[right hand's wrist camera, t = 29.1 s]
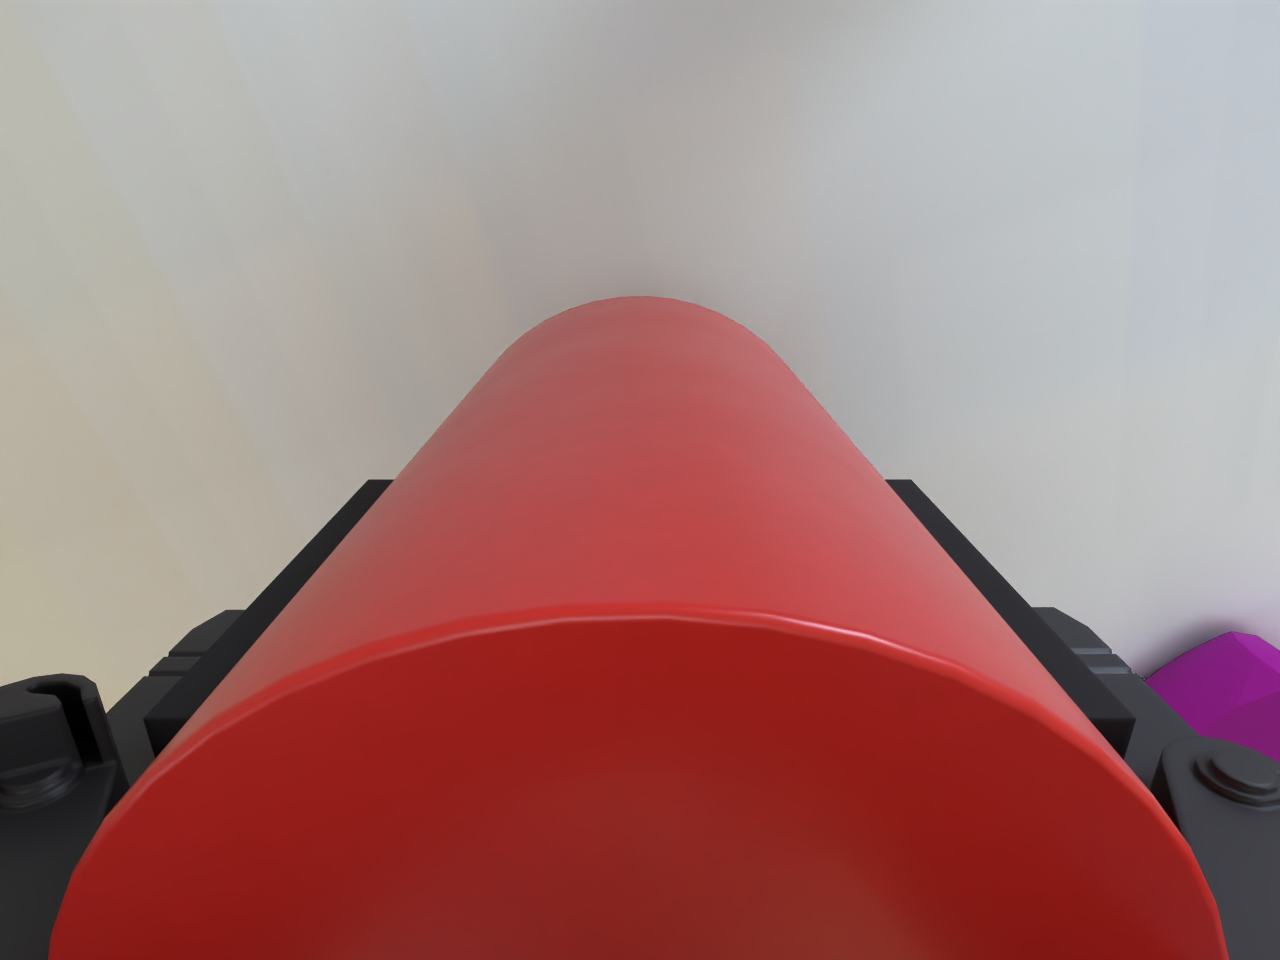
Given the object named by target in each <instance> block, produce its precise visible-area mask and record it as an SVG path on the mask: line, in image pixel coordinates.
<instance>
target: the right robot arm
mask: <svg viewBox="0 0 1280 960" xmlns="http://www.w3.org/2000/svg"><path fill="white" fill-rule="evenodd" d="M393 481H394V480H368V481H367V482H366V483H365V484H364V485H363V486H362V487H361V488H360V489H359V490H358V491H357V492H356V493H355V494H354V496H353V497H352V498H351V499H350V500H349V501H348V502H347V503H346V504H345V505H344V506H343V507H342V508H341V509H340V510H339V511H338V513H337V514H336V515H335V516H334V517H333V518H332V519H331V520H330V521H329V522H328V523H327V524H326V525H325V526H324V527H323V528H322V529H321V531H320V532H319V533H318V534H317V535H316V536H315V537H314V538H313V539H312V540H311V541H310V542H309V543H308V544H307V545H306V546H305V547H304V549H303V550H302V551H301V552H300V553H299V554H298V555H297V556H296V557H295V558H294V559H293V560H292V561H291V562H290V563H289V564H288V565H287V567H286V568H285V569H284V570H283V571H282V572H281V573H280V574H279V575H278V576H277V577H276V578H275V579H274V580H273V581H272V582H271V584H270V585H269V586H268V587H267V588H266V589H265V590H264V591H263V592H262V593H261V594H260V595H259V596H258V597H257V598H256V599H255V600H254V602H253V603H252V604H251V605H250V606H249V607H248V608H247V609H246V610H225V611H223V612H222V613H220V614H218V615H216V616H215V617H213V618H211V619H209V620H208V621H206V622H204V623H202V624H201V625H199V626H197V627H195V628H194V629H192V630H191V631H190V632H189V633H188V634H187V635H186V636H185V637H184V638H183V639H182V640H181V641H180V642H179V643H178V644H177V645H176V646H175V647H174V648H173V649H172V650H171V651H170V652H169V656H168V657H163V658H162V659H161V660H160V661H159V662H158V663H157V664H156V665H155V666H154V667H153V668H152V669H151V670H150V671H149V676H144V677H143V678H142V679H141V680H140V681H139V682H138V683H137V684H136V685H135V686H134V687H133V688H132V689H131V690H130V691H129V692H128V693H127V694H126V695H125V696H123V697H122V698H121V699H120V700H119V701H118V702H117V703H116V704H115V705H114V706H113V707H112V708H111V709H110V710H109V711H108V712H107V713H105V710H104V707H103V704H102V701H101V698H100V695H99V692H98V689H97V686H96V684H95V683H94V682H92V681H91V680H89V679H88V678H86V677H85V676H82V675H72V674H63V673H61V674H54V675H46V676H38V677H32V678H29V679H25V680H22V681H18V682H15V683H11V684H8V685H4V686H1V687H0V960H48V955H49V946H50V938H51V934H52V930H53V927H54V924H55V921H56V918H57V915H58V912H59V910H60V907H61V904H62V901H63V898H64V895H65V892H66V889H67V887H68V884H69V881H70V878H71V875H72V872H73V870H74V869H75V867H76V865H77V864H78V862H79V860H80V859H81V857H82V855H83V853H84V852H85V850H86V848H87V847H88V845H89V843H90V842H91V840H92V838H93V837H94V835H95V833H96V832H97V830H98V828H99V827H100V825H101V823H102V822H103V820H104V818H105V817H106V816H107V815H108V813H109V812H110V811H111V810H112V809H113V808H114V806H115V805H116V804H117V803H118V802H119V801H120V799H121V798H122V797H123V796H124V795H125V794H126V792H127V791H128V790H129V789H130V788H131V787H132V785H133V784H134V783H135V782H136V781H137V780H138V778H139V777H140V776H141V775H142V774H143V773H144V771H145V770H146V769H147V768H148V767H149V766H150V764H151V763H152V762H153V761H154V760H155V759H156V757H157V756H158V755H159V754H160V753H161V752H162V750H163V749H164V748H165V747H166V746H167V745H168V743H169V742H170V741H171V740H172V739H173V738H174V736H175V735H176V734H177V733H178V732H179V731H180V729H181V728H182V727H183V726H184V725H185V724H186V722H187V721H188V720H189V719H190V718H191V717H192V715H193V714H194V713H195V712H196V711H197V710H198V708H199V707H200V706H201V705H202V704H203V703H204V701H205V700H206V699H207V698H208V697H209V696H210V694H211V693H212V692H213V691H214V690H215V689H216V687H217V686H218V685H219V684H220V683H221V682H222V680H223V679H224V678H225V677H226V676H227V675H228V673H229V672H230V671H231V670H232V669H233V668H234V666H235V665H236V664H237V663H238V662H239V661H240V659H241V658H242V657H243V656H244V655H245V654H246V652H247V651H248V650H249V649H250V648H251V647H252V645H253V644H254V643H255V642H256V641H257V640H258V638H259V637H260V636H261V635H262V634H263V633H264V631H265V630H266V629H267V628H268V627H269V626H270V624H271V623H272V622H273V621H274V620H275V619H276V617H277V616H278V615H279V614H280V613H281V612H282V610H283V609H284V608H285V607H286V606H287V605H288V603H289V602H290V601H291V600H292V599H293V598H294V596H295V595H296V594H297V593H298V592H299V591H300V589H301V588H302V587H303V586H304V585H305V583H306V582H307V581H308V580H309V579H310V578H311V576H312V575H313V574H314V573H315V572H316V571H317V569H318V568H319V567H320V566H321V565H322V564H323V562H324V561H325V560H326V559H327V558H328V557H329V555H330V554H331V553H332V552H333V551H334V550H335V548H336V547H337V546H338V545H339V544H340V543H341V541H342V540H343V539H344V538H345V537H346V536H347V534H348V533H349V532H350V531H351V530H352V529H353V527H354V526H355V525H356V524H357V523H358V522H359V520H360V519H361V518H362V517H363V516H364V515H365V513H366V512H367V511H368V510H369V509H370V508H371V506H372V505H373V504H374V503H375V502H376V501H377V499H378V498H379V497H380V496H381V495H382V494H383V492H384V491H385V490H386V489H387V488H388V487H389V485H390V484H391V483H392V482H393ZM885 481H886V482H887V483H888V485H889V486H890V487H891V488H892V489H893V490H894V492H895V493H896V494H897V495H898V496H899V497H900V499H901V500H902V501H903V502H904V503H905V504H906V506H907V507H908V508H909V509H910V510H911V512H912V513H913V514H914V515H915V516H916V517H917V519H918V520H919V521H920V522H921V523H922V524H923V526H924V527H925V528H926V529H927V530H928V531H929V533H930V534H931V535H932V536H933V537H934V539H935V540H936V541H937V542H938V543H939V544H940V546H941V547H942V548H943V549H944V550H945V551H946V553H947V554H948V555H949V556H950V557H951V558H952V560H953V561H954V562H955V563H956V564H957V565H958V567H959V568H960V569H961V570H962V571H963V573H964V574H965V575H966V576H967V577H968V578H969V580H970V581H971V582H972V583H973V584H974V585H975V587H976V588H977V589H978V590H979V591H980V592H981V594H982V595H983V596H984V597H985V598H986V600H987V601H988V602H989V603H990V604H991V605H992V607H993V608H994V609H995V610H996V611H997V612H998V614H999V615H1000V616H1001V617H1002V618H1003V619H1004V621H1005V622H1006V623H1007V624H1008V625H1009V626H1010V628H1011V629H1012V630H1013V631H1014V632H1015V634H1016V635H1017V636H1018V637H1019V638H1020V639H1021V641H1022V642H1023V643H1024V644H1025V645H1026V646H1027V648H1028V649H1029V650H1030V651H1031V652H1032V653H1033V655H1034V656H1035V657H1036V658H1037V659H1038V661H1039V662H1040V663H1041V664H1042V665H1043V666H1044V668H1045V669H1046V670H1047V671H1048V672H1049V673H1050V675H1051V676H1052V677H1053V678H1054V679H1055V680H1056V682H1057V683H1058V684H1059V685H1060V686H1061V687H1062V689H1063V690H1064V691H1065V692H1066V693H1067V695H1068V696H1069V697H1070V698H1071V699H1072V700H1073V702H1074V703H1075V704H1076V705H1077V706H1078V707H1079V709H1080V710H1081V711H1082V712H1083V713H1084V714H1085V716H1086V717H1087V718H1088V719H1089V720H1090V722H1091V723H1092V724H1093V725H1094V726H1095V727H1096V729H1097V730H1098V731H1099V732H1100V733H1101V734H1102V736H1103V737H1104V738H1105V739H1106V740H1107V741H1108V743H1109V744H1110V745H1111V746H1112V747H1113V748H1114V750H1115V751H1116V752H1117V753H1118V754H1119V756H1120V757H1121V758H1122V759H1123V760H1124V761H1125V763H1126V764H1127V765H1128V766H1129V767H1130V768H1131V770H1132V771H1133V772H1134V773H1135V774H1136V775H1137V777H1138V778H1139V779H1140V780H1141V781H1142V783H1143V784H1144V785H1145V786H1146V787H1147V788H1148V790H1149V791H1150V792H1151V793H1152V794H1153V796H1154V797H1155V798H1156V800H1157V801H1158V803H1159V804H1160V805H1161V807H1162V808H1163V809H1164V811H1165V812H1166V814H1167V815H1168V816H1169V818H1170V819H1171V821H1172V822H1173V823H1174V825H1175V826H1176V827H1177V829H1178V830H1179V832H1180V833H1181V834H1182V836H1183V837H1184V839H1185V840H1186V841H1187V843H1188V844H1189V845H1190V847H1191V849H1192V851H1193V853H1194V855H1195V858H1196V860H1197V862H1198V864H1199V866H1200V868H1201V871H1202V873H1203V875H1204V877H1205V879H1206V882H1207V884H1208V886H1209V888H1210V890H1211V892H1212V895H1213V897H1214V899H1215V901H1216V904H1217V908H1218V911H1219V915H1220V920H1221V924H1222V929H1223V933H1224V938H1225V942H1226V947H1227V951H1228V956H1229V960H1280V763H1279V762H1277V761H1275V760H1273V759H1271V758H1269V757H1267V756H1265V755H1263V754H1261V753H1260V752H1258V751H1256V750H1254V749H1251V748H1248V747H1245V746H1242V745H1239V744H1236V743H1233V742H1230V741H1227V740H1223V739H1217V738H1210V737H1203V736H1200V735H1199V734H1198V733H1197V732H1196V731H1195V730H1194V729H1193V728H1192V727H1191V726H1190V725H1189V724H1188V723H1187V722H1186V721H1184V720H1183V719H1182V718H1181V717H1180V716H1179V715H1178V714H1177V713H1176V712H1175V711H1174V710H1173V709H1172V708H1171V707H1170V706H1169V705H1168V704H1167V703H1166V702H1165V701H1164V700H1163V699H1162V698H1161V697H1160V696H1159V695H1158V694H1157V693H1156V692H1155V691H1154V690H1153V689H1152V688H1150V687H1149V686H1148V685H1147V684H1146V683H1145V682H1144V681H1143V680H1142V679H1141V678H1140V677H1139V676H1138V675H1137V674H1132V673H1131V668H1130V667H1129V666H1128V665H1127V664H1126V663H1125V662H1124V661H1123V660H1122V659H1121V658H1120V657H1119V656H1117V655H1116V654H1112V652H1111V649H1110V648H1109V647H1108V646H1107V645H1106V644H1105V643H1104V642H1103V641H1102V640H1101V639H1100V638H1099V637H1098V636H1097V635H1096V634H1095V633H1094V632H1093V631H1092V630H1091V629H1090V628H1089V627H1087V626H1086V625H1084V624H1082V623H1080V622H1079V621H1077V620H1075V619H1073V618H1072V617H1070V616H1068V615H1066V614H1065V613H1063V612H1061V611H1059V610H1058V609H1056V608H1054V607H1031V606H1030V605H1029V604H1028V603H1027V602H1026V601H1025V600H1024V599H1023V598H1022V597H1021V596H1020V595H1019V594H1018V593H1017V591H1016V590H1015V589H1014V588H1013V587H1012V586H1011V585H1010V584H1009V583H1008V582H1007V581H1006V580H1005V579H1004V578H1003V577H1002V576H1001V575H1000V573H999V572H998V571H997V570H996V569H995V568H994V567H993V566H992V565H991V564H990V563H989V562H988V561H987V560H986V559H985V558H984V556H983V555H982V554H981V553H980V552H979V551H978V550H977V549H976V548H975V547H974V546H973V545H972V544H971V543H970V542H969V541H968V540H967V538H966V537H965V536H964V535H963V534H962V533H961V532H960V531H959V530H958V529H957V528H956V527H955V526H954V525H953V524H952V523H951V522H950V520H949V519H948V518H947V517H946V516H945V515H944V514H943V513H942V512H941V511H940V510H939V509H938V508H937V507H936V506H935V505H934V503H933V502H932V501H931V500H930V499H929V498H928V497H927V496H926V495H925V494H924V493H923V492H922V491H921V490H920V489H919V488H918V487H917V485H916V484H915V483H914V482H913V481H912V480H885Z"/></svg>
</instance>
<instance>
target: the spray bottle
mask: <svg viewBox="0 0 1280 960" xmlns="http://www.w3.org/2000/svg"><path fill="white" fill-rule="evenodd" d="M1144 682H1145V683H1146V684H1147V685H1148V686H1149V687H1150V688H1152V689H1153V690H1154V691H1155V692H1156V693H1157V694H1158V695H1159V696H1160V697H1161V698H1162V699H1163V700H1164V701H1165V702H1166V703H1167V704H1168V705H1169V706H1170V707H1171V708H1172V709H1173V710H1174V711H1175V712H1176V713H1177V714H1178V715H1179V716H1180V717H1181V718H1182V719H1183V720H1184V721H1186V722H1187V723H1188V724H1189V725H1190V726H1191V727H1192V728H1193V729H1194V730H1195V731H1196V732H1197V733H1198V734H1199V735H1200V736H1203V737H1210V738H1217V739H1223V740H1227V741H1230V742H1233V743H1236V744H1239V745H1242V746H1245V747H1248V748H1251V749H1254V750H1256V751H1258V752H1260V753H1261V754H1263V755H1265V756H1267V757H1269V758H1271V759H1273V760H1275V761H1277V762H1279V763H1280V651H1279V650H1278V649H1276V648H1275V647H1273V646H1272V645H1270V644H1269V643H1267V642H1265V641H1264V640H1262V639H1261V638H1259V637H1258V636H1256V635H1250V634H1244V633H1238V632H1228V633H1225V634H1222V635H1220V636H1218V637H1216V638H1214V639H1212V640H1210V641H1208V642H1206V643H1204V644H1202V645H1200V646H1198V647H1196V648H1194V649H1192V650H1189V651H1187V652H1186V653H1184V654H1183V655H1181V656H1179V657H1178V658H1176V659H1174V660H1173V661H1171V662H1169V663H1168V664H1166V665H1165V666H1163V667H1162V668H1161V669H1159V670H1158V671H1157V672H1156V673H1154V674H1153V675H1152V676H1150V677H1149V678H1148V679H1146V680H1145V681H1144Z"/></svg>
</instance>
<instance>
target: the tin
mask: <svg viewBox="0 0 1280 960" xmlns="http://www.w3.org/2000/svg"><path fill="white" fill-rule="evenodd" d="M48 960H1229V956H1228V951H1227V947H1226V942H1225V938H1224V933H1223V929H1222V924H1221V920H1220V915H1219V911H1218V908H1217V904H1216V901H1215V899H1214V897H1213V895H1212V892H1211V890H1210V888H1209V886H1208V884H1207V882H1206V879H1205V877H1204V875H1203V873H1202V871H1201V868H1200V866H1199V864H1198V862H1197V860H1196V858H1195V855H1194V853H1193V851H1192V849H1191V847H1190V845H1189V844H1188V843H1187V841H1186V840H1185V839H1184V837H1183V836H1182V834H1181V833H1180V832H1179V830H1178V829H1177V827H1176V826H1175V825H1174V823H1173V822H1172V821H1171V819H1170V818H1169V816H1168V815H1167V814H1166V812H1165V811H1164V809H1163V808H1162V807H1161V805H1160V804H1159V803H1158V801H1157V800H1156V798H1155V797H1154V796H1153V794H1152V793H1151V792H1150V791H1149V790H1148V788H1147V787H1146V786H1145V785H1144V784H1143V783H1142V781H1141V780H1140V779H1139V778H1138V777H1137V775H1136V774H1135V773H1134V772H1133V771H1132V770H1131V768H1130V767H1129V766H1128V765H1127V764H1126V763H1125V761H1124V760H1123V759H1122V758H1121V757H1120V756H1119V754H1118V753H1117V752H1116V751H1115V750H1114V748H1113V747H1112V746H1111V745H1110V744H1109V743H1108V741H1107V740H1106V739H1105V738H1104V737H1103V736H1102V734H1101V733H1100V732H1099V731H1098V730H1097V729H1096V727H1095V726H1094V725H1093V724H1092V723H1091V722H1090V720H1089V719H1088V718H1087V717H1086V716H1085V714H1084V713H1083V712H1082V711H1081V710H1080V709H1079V707H1078V706H1077V705H1076V704H1075V703H1074V702H1073V700H1072V699H1071V698H1070V697H1069V696H1068V695H1067V693H1066V692H1065V691H1064V690H1063V689H1062V687H1061V686H1060V685H1059V684H1058V683H1057V682H1056V680H1055V679H1054V678H1053V677H1052V676H1051V675H1050V673H1049V672H1048V671H1047V670H1046V669H1045V668H1044V666H1043V665H1042V664H1041V663H1040V662H1039V661H1038V659H1037V658H1036V657H1035V656H1034V655H1033V653H1032V652H1031V651H1030V650H1029V649H1028V648H1027V646H1026V645H1025V644H1024V643H1023V642H1022V641H1021V639H1020V638H1019V637H1018V636H1017V635H1016V634H1015V632H1014V631H1013V630H1012V629H1011V628H1010V626H1009V625H1008V624H1007V623H1006V622H1005V621H1004V619H1003V618H1002V617H1001V616H1000V615H999V614H998V612H997V611H996V610H995V609H994V608H993V607H992V605H991V604H990V603H989V602H988V601H987V600H986V598H985V597H984V596H983V595H982V594H981V592H980V591H979V590H978V589H977V588H976V587H975V585H974V584H973V583H972V582H971V581H970V580H969V578H968V577H967V576H966V575H965V574H964V573H963V571H962V570H961V569H960V568H959V567H958V565H957V564H956V563H955V562H954V561H953V560H952V558H951V557H950V556H949V555H948V554H947V553H946V551H945V550H944V549H943V548H942V547H941V546H940V544H939V543H938V542H937V541H936V540H935V539H934V537H933V536H932V535H931V534H930V533H929V531H928V530H927V529H926V528H925V527H924V526H923V524H922V523H921V522H920V521H919V520H918V519H917V517H916V516H915V515H914V514H913V513H912V512H911V510H910V509H909V508H908V507H907V506H906V504H905V503H904V502H903V501H902V500H901V499H900V497H899V496H898V495H897V494H896V493H895V492H894V490H893V489H892V488H891V487H890V486H889V485H888V483H887V482H886V481H885V480H884V479H883V478H882V476H881V475H880V474H879V473H878V472H877V470H876V469H875V468H874V467H873V466H872V465H871V463H870V462H869V461H868V460H867V459H866V458H865V456H864V455H863V454H862V453H861V452H860V451H859V449H858V448H857V447H856V446H855V445H854V444H853V442H852V441H851V440H850V439H849V438H848V436H847V435H846V434H845V433H844V432H843V431H842V429H841V428H840V427H839V426H838V425H837V424H836V422H835V421H834V420H833V419H832V418H831V417H830V415H829V414H828V413H827V412H826V411H825V409H824V408H823V407H822V406H821V405H820V404H819V402H818V401H817V400H816V399H815V398H814V397H813V395H812V394H811V393H810V392H809V391H808V390H807V388H806V387H805V386H804V385H803V384H802V383H801V381H800V380H799V379H798V378H797V377H796V375H795V374H794V373H793V372H792V371H791V370H790V368H789V367H788V366H787V365H786V364H785V363H784V361H783V360H782V359H781V358H780V357H779V356H778V355H777V354H776V353H775V352H774V351H773V350H772V349H771V348H770V347H769V346H768V345H767V344H766V343H765V342H764V341H762V340H761V339H760V338H758V337H757V336H756V335H754V334H753V333H752V332H750V331H749V330H748V329H746V328H745V327H744V326H742V325H740V324H738V323H736V322H735V321H733V320H731V319H729V318H727V317H726V316H724V315H722V314H719V313H717V312H714V311H712V310H709V309H707V308H704V307H702V306H699V305H695V304H691V303H687V302H683V301H679V300H675V299H668V298H658V297H649V296H639V297H618V298H612V299H606V300H600V301H594V302H591V303H588V304H584V305H581V306H578V307H575V308H571V309H569V310H566V311H564V312H562V313H560V314H558V315H556V316H554V317H551V318H549V319H547V320H545V321H544V322H542V323H541V324H539V325H538V326H536V327H534V328H533V329H531V330H530V331H528V332H527V333H525V334H524V335H523V336H522V337H520V338H519V339H518V340H517V341H516V342H515V343H513V344H512V345H511V346H510V347H509V348H508V349H506V351H505V352H504V353H503V354H502V355H501V356H500V357H499V358H498V360H497V361H496V362H495V363H494V364H493V365H492V366H491V368H490V369H489V370H488V371H487V372H486V373H485V375H484V376H483V377H482V378H481V379H480V380H479V382H478V383H477V384H476V385H475V386H474V387H473V389H472V390H471V391H470V392H469V393H468V394H467V396H466V397H465V398H464V399H463V400H462V401H461V403H460V404H459V405H458V406H457V407H456V408H455V410H454V411H453V412H452V413H451V414H450V415H449V417H448V418H447V419H446V420H445V421H444V422H443V424H442V425H441V426H440V427H439V428H438V429H437V431H436V432H435V433H434V434H433V435H432V436H431V438H430V439H429V440H428V441H427V442H426V443H425V445H424V446H423V447H422V448H421V449H420V450H419V452H418V453H417V454H416V455H415V456H414V457H413V459H412V460H411V461H410V462H409V463H408V464H407V466H406V467H405V468H404V469H403V470H402V471H401V473H400V474H399V475H398V476H397V477H396V478H395V480H394V481H393V482H392V483H391V484H390V485H389V487H388V488H387V489H386V490H385V491H384V492H383V494H382V495H381V496H380V497H379V498H378V499H377V501H376V502H375V503H374V504H373V505H372V506H371V508H370V509H369V510H368V511H367V512H366V513H365V515H364V516H363V517H362V518H361V519H360V520H359V522H358V523H357V524H356V525H355V526H354V527H353V529H352V530H351V531H350V532H349V533H348V534H347V536H346V537H345V538H344V539H343V540H342V541H341V543H340V544H339V545H338V546H337V547H336V548H335V550H334V551H333V552H332V553H331V554H330V555H329V557H328V558H327V559H326V560H325V561H324V562H323V564H322V565H321V566H320V567H319V568H318V569H317V571H316V572H315V573H314V574H313V575H312V576H311V578H310V579H309V580H308V581H307V582H306V583H305V585H304V586H303V587H302V588H301V589H300V591H299V592H298V593H297V594H296V595H295V596H294V598H293V599H292V600H291V601H290V602H289V603H288V605H287V606H286V607H285V608H284V609H283V610H282V612H281V613H280V614H279V615H278V616H277V617H276V619H275V620H274V621H273V622H272V623H271V624H270V626H269V627H268V628H267V629H266V630H265V631H264V633H263V634H262V635H261V636H260V637H259V638H258V640H257V641H256V642H255V643H254V644H253V645H252V647H251V648H250V649H249V650H248V651H247V652H246V654H245V655H244V656H243V657H242V658H241V659H240V661H239V662H238V663H237V664H236V665H235V666H234V668H233V669H232V670H231V671H230V672H229V673H228V675H227V676H226V677H225V678H224V679H223V680H222V682H221V683H220V684H219V685H218V686H217V687H216V689H215V690H214V691H213V692H212V693H211V694H210V696H209V697H208V698H207V699H206V700H205V701H204V703H203V704H202V705H201V706H200V707H199V708H198V710H197V711H196V712H195V713H194V714H193V715H192V717H191V718H190V719H189V720H188V721H187V722H186V724H185V725H184V726H183V727H182V728H181V729H180V731H179V732H178V733H177V734H176V735H175V736H174V738H173V739H172V740H171V741H170V742H169V743H168V745H167V746H166V747H165V748H164V749H163V750H162V752H161V753H160V754H159V755H158V756H157V757H156V759H155V760H154V761H153V762H152V763H151V764H150V766H149V767H148V768H147V769H146V770H145V771H144V773H143V774H142V775H141V776H140V777H139V778H138V780H137V781H136V782H135V783H134V784H133V785H132V787H131V788H130V789H129V790H128V791H127V792H126V794H125V795H124V796H123V797H122V798H121V799H120V801H119V802H118V803H117V804H116V805H115V806H114V808H113V809H112V810H111V811H110V812H109V813H108V815H107V816H106V817H105V818H104V820H103V822H102V823H101V825H100V827H99V828H98V830H97V832H96V833H95V835H94V837H93V838H92V840H91V842H90V843H89V845H88V847H87V848H86V850H85V852H84V853H83V855H82V857H81V859H80V860H79V862H78V864H77V865H76V867H75V869H74V870H73V872H72V875H71V878H70V881H69V884H68V887H67V889H66V892H65V895H64V898H63V901H62V904H61V907H60V910H59V912H58V915H57V918H56V921H55V924H54V927H53V930H52V934H51V938H50V946H49V955H48Z"/></svg>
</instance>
